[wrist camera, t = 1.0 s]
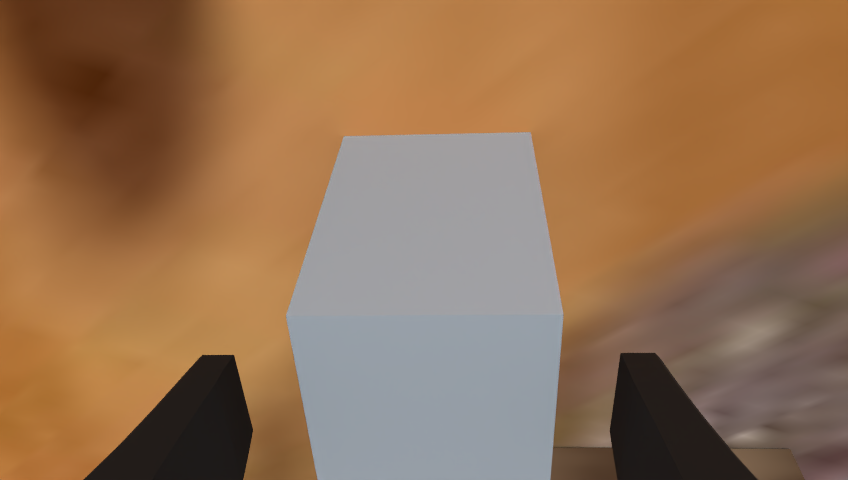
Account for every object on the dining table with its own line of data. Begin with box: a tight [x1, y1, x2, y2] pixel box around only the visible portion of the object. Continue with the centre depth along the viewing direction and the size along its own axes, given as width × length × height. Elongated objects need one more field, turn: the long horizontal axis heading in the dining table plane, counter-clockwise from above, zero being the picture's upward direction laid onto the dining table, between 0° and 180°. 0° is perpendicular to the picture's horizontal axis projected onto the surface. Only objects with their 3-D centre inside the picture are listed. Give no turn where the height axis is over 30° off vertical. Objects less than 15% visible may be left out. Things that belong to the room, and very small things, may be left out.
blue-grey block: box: [286, 132, 563, 480], centre depth 16 cm, size 5×5×7 cm
